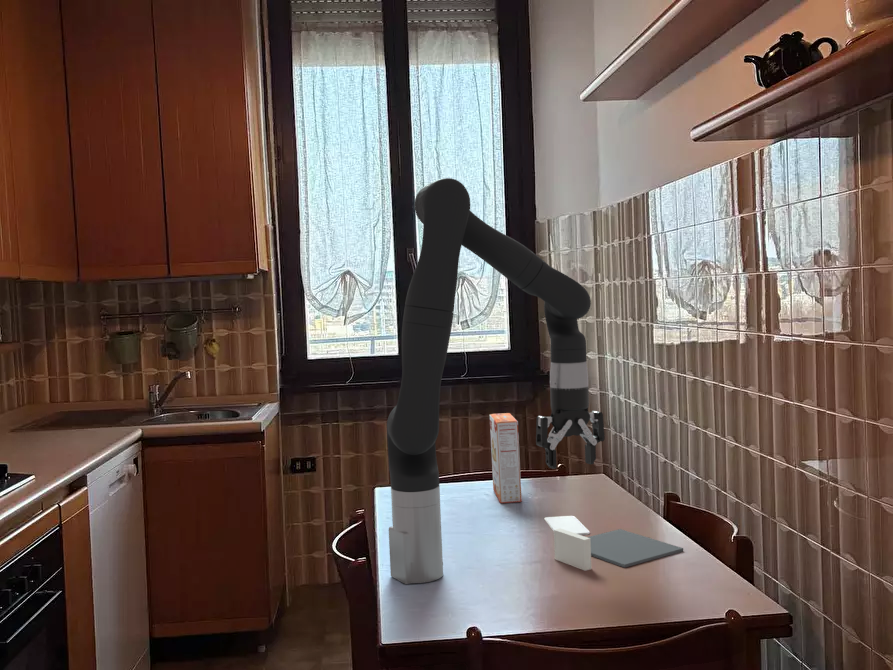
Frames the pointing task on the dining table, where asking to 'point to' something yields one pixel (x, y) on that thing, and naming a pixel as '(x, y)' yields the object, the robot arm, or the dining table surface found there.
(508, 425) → the cracker box
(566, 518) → the smartphone
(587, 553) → the card box
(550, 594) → the dining table surface
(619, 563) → the mat
